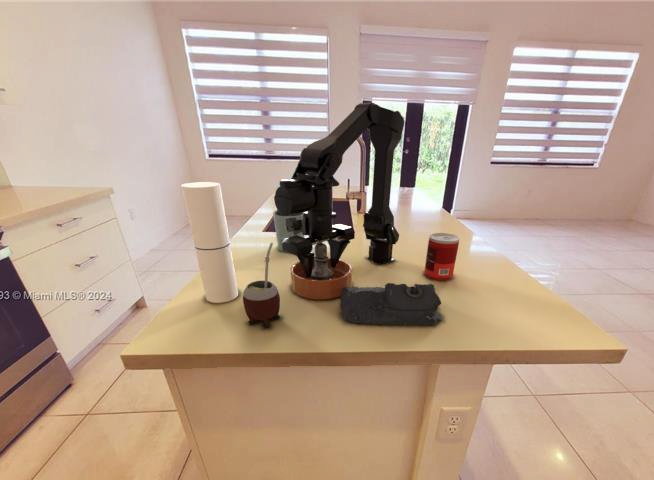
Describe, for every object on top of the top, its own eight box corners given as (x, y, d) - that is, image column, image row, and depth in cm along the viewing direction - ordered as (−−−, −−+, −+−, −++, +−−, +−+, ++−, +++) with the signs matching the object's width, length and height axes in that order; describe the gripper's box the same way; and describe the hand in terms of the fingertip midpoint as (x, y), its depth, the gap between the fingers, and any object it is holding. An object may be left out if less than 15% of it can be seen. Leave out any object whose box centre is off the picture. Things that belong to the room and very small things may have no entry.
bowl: (335, 270, 89) (335, 254, 86) (362, 292, 77) (363, 273, 75) (283, 280, 82) (282, 263, 80) (305, 306, 71) (304, 286, 68)
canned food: (457, 275, 88) (464, 237, 83) (443, 283, 83) (450, 243, 78) (433, 267, 92) (438, 231, 87) (418, 275, 87) (423, 236, 82)
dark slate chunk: (340, 291, 77) (340, 273, 75) (428, 292, 78) (431, 275, 76) (339, 325, 64) (339, 304, 62) (446, 326, 64) (450, 306, 62)
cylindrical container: (207, 305, 70) (181, 188, 58) (204, 292, 75) (180, 182, 64) (240, 299, 73) (222, 186, 61) (235, 286, 78) (217, 181, 67)
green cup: (291, 241, 111) (289, 207, 105) (313, 247, 106) (311, 211, 100) (269, 249, 104) (265, 212, 98) (291, 255, 98) (288, 217, 93)
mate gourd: (249, 333, 61) (237, 260, 54) (244, 313, 67) (233, 246, 60) (287, 325, 63) (281, 255, 56) (279, 307, 70) (272, 242, 63)
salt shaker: (330, 291, 76) (330, 244, 71) (307, 289, 77) (304, 242, 72) (335, 281, 82) (335, 236, 76) (313, 279, 82) (312, 235, 77)
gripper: (324, 198, 81) (325, 254, 89) (263, 208, 69) (270, 274, 76) (356, 204, 75) (355, 265, 82) (296, 217, 62) (301, 288, 70)
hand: (321, 272), depth 78 cm, fingers closed on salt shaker, 8 cm apart
